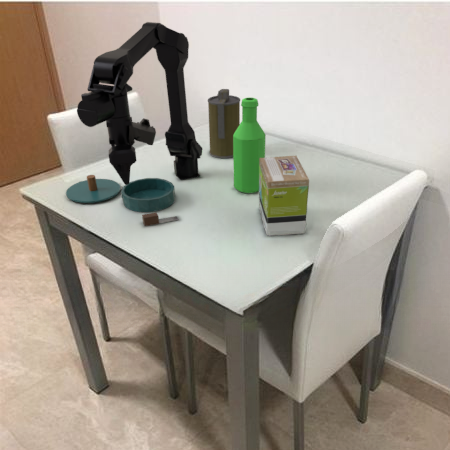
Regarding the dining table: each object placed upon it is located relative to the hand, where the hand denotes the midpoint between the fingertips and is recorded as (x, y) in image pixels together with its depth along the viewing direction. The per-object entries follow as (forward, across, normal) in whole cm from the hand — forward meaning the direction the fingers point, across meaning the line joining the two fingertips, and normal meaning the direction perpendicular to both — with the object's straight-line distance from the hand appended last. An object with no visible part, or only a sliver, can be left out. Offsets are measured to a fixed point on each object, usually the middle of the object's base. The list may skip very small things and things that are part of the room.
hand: (126, 177), depth 126 cm
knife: (+10, -6, -7) cm, 14 cm away
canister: (+10, +38, -32) cm, 51 cm away
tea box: (+10, -13, -38) cm, 41 cm away
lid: (+10, +16, +10) cm, 21 cm away
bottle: (+10, +9, -34) cm, 37 cm away
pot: (+10, +7, -5) cm, 14 cm away
